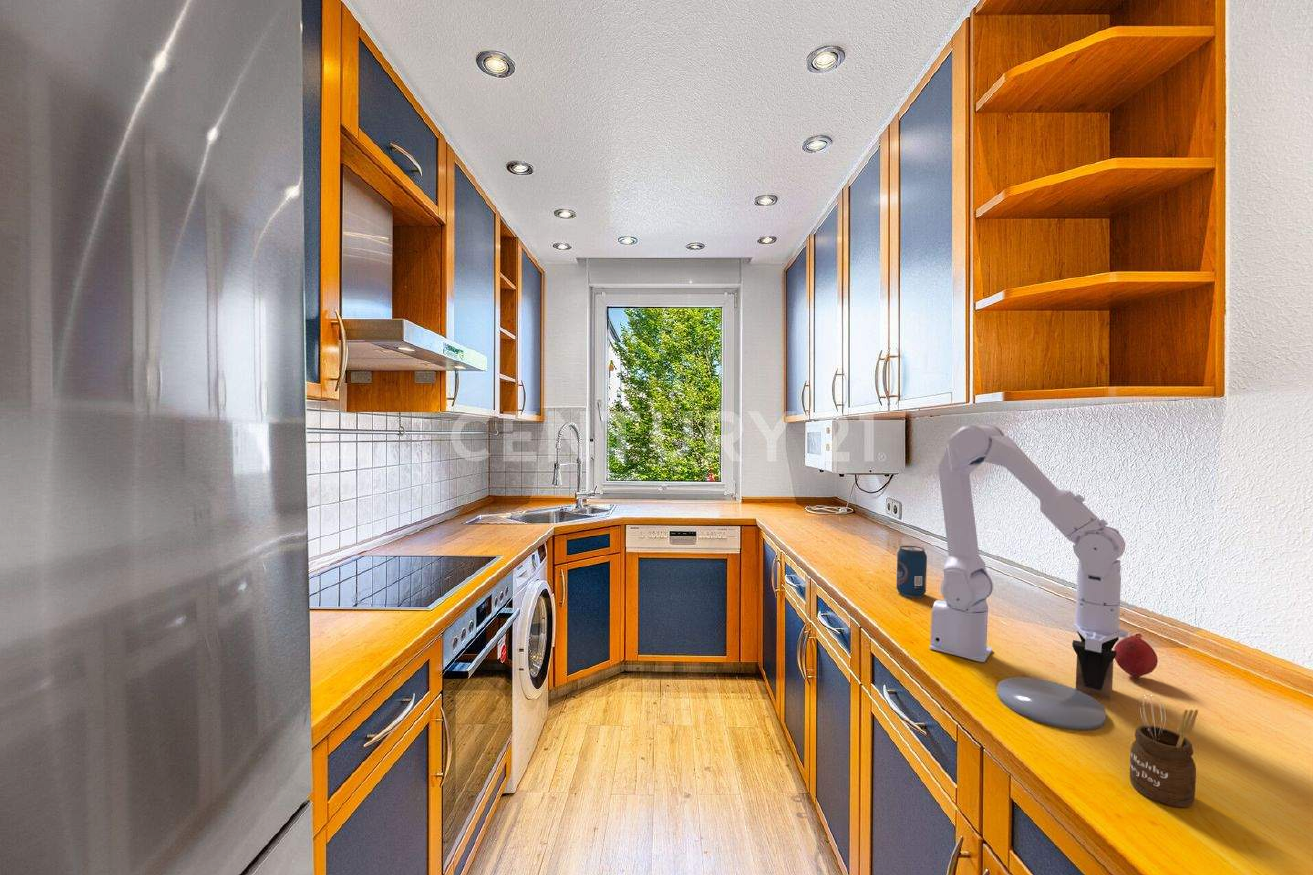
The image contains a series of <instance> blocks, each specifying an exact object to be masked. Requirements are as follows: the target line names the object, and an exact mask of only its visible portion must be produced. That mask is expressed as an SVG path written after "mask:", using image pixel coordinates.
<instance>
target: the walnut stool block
mask: <svg viewBox="0 0 1313 875" xmlns="http://www.w3.org/2000/svg"><path fill="white" fill-rule="evenodd" d="M1114 662H1115V658H1114V659H1113V661H1112V662H1111V663H1110V665H1109V667H1108V669H1107V672H1106V676H1105V680H1104V683H1103V686H1102V689H1101V690H1097V689H1093V688H1089V687H1085V685H1084V681H1083V676H1082V671H1081V665H1080V662H1079V659H1078V656H1077V655H1076V672H1075V689H1076V690H1078V691H1081V692H1083V693H1085V694H1087V695H1089V696H1090V697H1096V698H1100V699H1103V700H1107V701H1112V695H1113V683H1114V681H1113V680H1114Z"/></svg>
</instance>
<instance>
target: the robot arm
mask: <svg viewBox="0 0 1313 875" xmlns="http://www.w3.org/2000/svg"><path fill="white" fill-rule="evenodd" d="M984 462H985V463H988V464H992V465H996V466H1000V467H1004V468H1005V470H1007V471H1009V472H1010V473H1011V475H1013V477H1015V479H1017V480H1018V481H1019V482H1020V483H1021V484H1022V485H1023V486H1025V488H1027V490H1029V491H1030V492H1031V493H1032V494H1033V495H1034V496H1035V497H1036V498H1037V499H1039V501H1040V502H1039V504H1040V505H1039V511H1040V512H1041V513H1042V514H1043V516H1044V517H1046V519H1047V520H1048V521H1050V523H1051V524H1053V526H1054V527H1055V528H1056V530H1058V531H1059V532H1060V534H1062V535H1063V537H1065V538H1066V539H1067V540H1068V541H1069V542H1071V543H1073V545H1072V547H1073V548H1072V549H1073V552H1074V554H1075V556H1076V557H1077V558H1078V567H1077V568H1078V569H1077V571H1076V572H1077V573H1076V595H1075V596H1076V597H1075V617H1074V619H1075V620H1074V621H1073V628H1074V629H1075V630H1076V632H1077V635H1078V636H1079V638H1080V640H1076V639H1073V640H1072V644H1071V646H1072V648H1073V651H1074V652H1075V654H1076V657H1077V656H1078V659H1079V662H1080V665H1081V671H1082V676H1083V681H1084V685H1085V687H1089V688H1093V689H1097V690H1101V689H1102V686H1103V683H1104V680H1105V676H1106V672H1107V669H1108V667H1109V665H1110V663H1111V662H1112V661H1113V659H1114V660H1115V657H1116V655H1117V651H1114V649H1113V648H1114V647H1115V646H1116V644H1117V643H1118V642H1119V640H1120V639H1119V638H1123V639H1124V638H1127V637H1129V632H1128V630H1125V629H1120V611H1121V610H1120V609H1121V607H1120V606H1121V588H1122V586H1121V585H1122V575H1121V570H1122V566H1121V559H1119V558H1121V557H1122V556H1123V555H1124V553H1125V550H1126V541H1125V539H1124V537H1123V536H1122V535H1121V533H1120V532H1119V530H1118V529H1116V528H1114V527H1112V526H1108V525H1109V524H1108V522H1107V521H1106V520H1105V519H1104V518H1103V519H1100V518H1098V516H1097V515H1096V514H1094V512H1093V511H1092V510H1091V509H1090V508H1088V507H1087V505H1086V504H1085V503H1084V501H1086V499H1085V498H1084V497H1083V495H1081V494H1076V495H1075V494H1074V492H1072V491H1071V490H1064V489H1059V488H1057V486H1055V485H1054V484H1053V482H1052V481H1050V479H1049V478H1048V476H1046V475H1045V474H1044V472H1042V470H1040V468H1039V467H1038V466H1037V464H1035V463H1034V462H1033V460H1031V459H1030V457H1029V456H1028V455H1027V454H1026V453H1025V452H1024V451H1023V450H1022V449H1021V447H1020V446H1018V444H1017V443H1016V441H1015V440H1013V438H1011V437H1009V436H1008V435H1005V434H1004V432H1003V430H1001V428H999V427H997V426H995V425H992V424H983V425H976V424H975V425H974V424H968V425H964V426H961V427H959V428H958V429H957V430H955V432H954V433H953V434H951V435H950V436H949V437H948V438H947V446H946V448H945V450H944V452H943V455H942V457H941V460H940V461H939V464H938V477H939V478H938V479H939V487H940V495H941V501H942V502H941V504H942V510H943V519H944V528H945V537H946V544H947V545H946V546H947V554H948V557H947V560H946V561H945V562H946V563H945V564H944V567H943V580H942V582H941V584H940V593H941V596H942V598H943V600H939V599H937V600H935V601H934V602H933V606H932V609H931V618H930V645H929V649H930V650H933V651H936V652H937V651H938V652H942V653H946V654H948V655H953V656H956V657H961V658H965V659H967V660H972V661H976V662H980V663H985V662H986V660H987V659H988V657H989V656H990V655H991V653H992V651H993V647H991V646H988V621H989V620H988V618H989V617H988V616H989V605H988V603H987V598H989V597H990V596H991V595H992V594H993V590H994V583H993V580H992V578H991V576H990V575H989V574H988V571H987V568H986V562H985V561H984V560H983V559H982V557H981V556H980V552H979V550H980V549H979V544H978V543H979V542H978V534H977V528H976V527H977V526H976V520H975V519H976V517H975V510H974V501H973V495H972V487H971V486H972V485H971V479H970V478H971V477H970V476H971V474H972V473H973V472H974V471H975V470H976V469H978V468H979V466H980V465H981V464H982V463H984ZM1113 662H1114V661H1113Z"/></svg>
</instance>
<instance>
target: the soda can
mask: <svg viewBox="0 0 1313 875" xmlns="http://www.w3.org/2000/svg"><path fill="white" fill-rule="evenodd" d="M925 551H926V550H925V548H923V547H921V546H918V545H917V546H916V545H900V546H899V550H898V551H897V554H896V559H897V560H896V565H897V566H896V590H897V591H898V593H899V594H900V595H901V596H904V597H907V598H913V599H915V598H916V599H917V598H922V597H924V595H925V593H926V592H927V570H928V568H927V566H928V565H927V564H928V556H927V553H926V552H925Z"/></svg>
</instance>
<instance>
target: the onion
mask: <svg viewBox="0 0 1313 875" xmlns="http://www.w3.org/2000/svg"><path fill="white" fill-rule="evenodd" d="M1142 637H1143V635H1142V634H1141V633H1140V632H1133V633H1132V634H1131V635H1130V636H1128V637H1127V638H1123V639H1121V640H1120V641H1117V642H1116V643H1115V645H1114V647H1113V648H1114V649H1113V651H1117V655H1116V657H1115V658H1114V661H1115V662H1116V664H1117V665H1118V666H1119V667H1120V669H1121V670H1123V671H1124V672H1125V673H1126V674H1127V675H1129V676H1130V677H1131V678H1135V679H1138V678H1140V677H1143V676H1146V675H1149V674H1150V673H1153V672H1154V670H1155V669H1156V668H1157V666H1158V663H1159V662H1158V656H1157V653H1156V652H1155V650H1154V648H1153V647H1152V646H1151V645H1150V644H1149V643H1148V642H1147V641H1145V640H1144V639H1142Z"/></svg>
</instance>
